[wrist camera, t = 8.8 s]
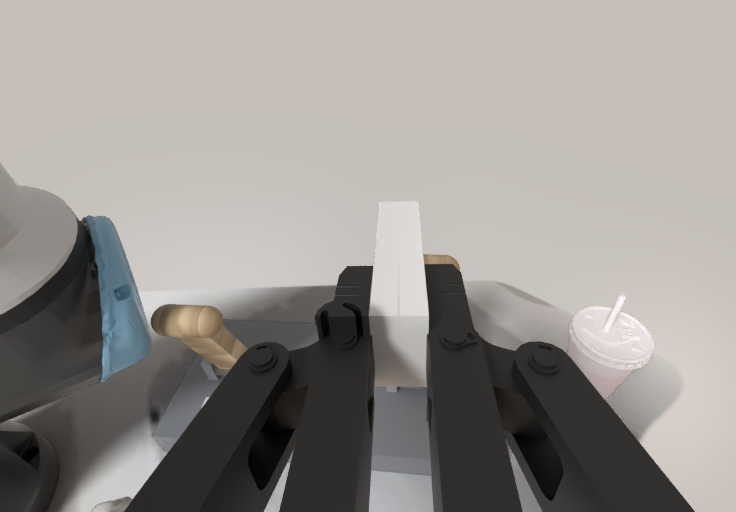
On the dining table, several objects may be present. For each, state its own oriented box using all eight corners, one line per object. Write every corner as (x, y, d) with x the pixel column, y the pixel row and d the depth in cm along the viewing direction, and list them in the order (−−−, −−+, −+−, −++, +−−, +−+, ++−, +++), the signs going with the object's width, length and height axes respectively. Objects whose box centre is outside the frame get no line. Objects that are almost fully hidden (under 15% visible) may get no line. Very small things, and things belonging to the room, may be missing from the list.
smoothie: (541, 363, 42) (579, 265, 33) (605, 372, 41) (662, 273, 32) (550, 418, 37) (597, 320, 29) (623, 430, 36) (695, 331, 27)
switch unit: (164, 451, 37) (140, 421, 33) (222, 335, 47) (209, 303, 44) (490, 480, 33) (501, 451, 30) (472, 349, 44) (479, 316, 41)
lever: (215, 377, 39) (139, 328, 28) (221, 354, 40) (151, 298, 29) (266, 381, 39) (210, 332, 27) (271, 357, 40) (219, 301, 29)
